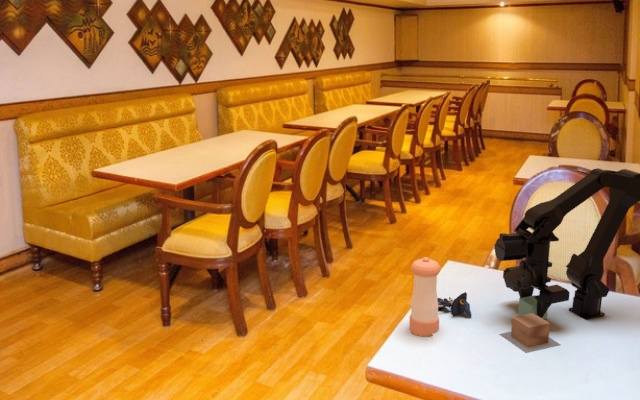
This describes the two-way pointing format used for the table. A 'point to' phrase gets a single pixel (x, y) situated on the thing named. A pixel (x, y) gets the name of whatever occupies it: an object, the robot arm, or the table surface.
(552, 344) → the mat
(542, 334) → the walnut block
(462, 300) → the toy
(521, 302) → the green cube
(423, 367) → the table surface
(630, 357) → the table surface
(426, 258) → the pepper shaker
